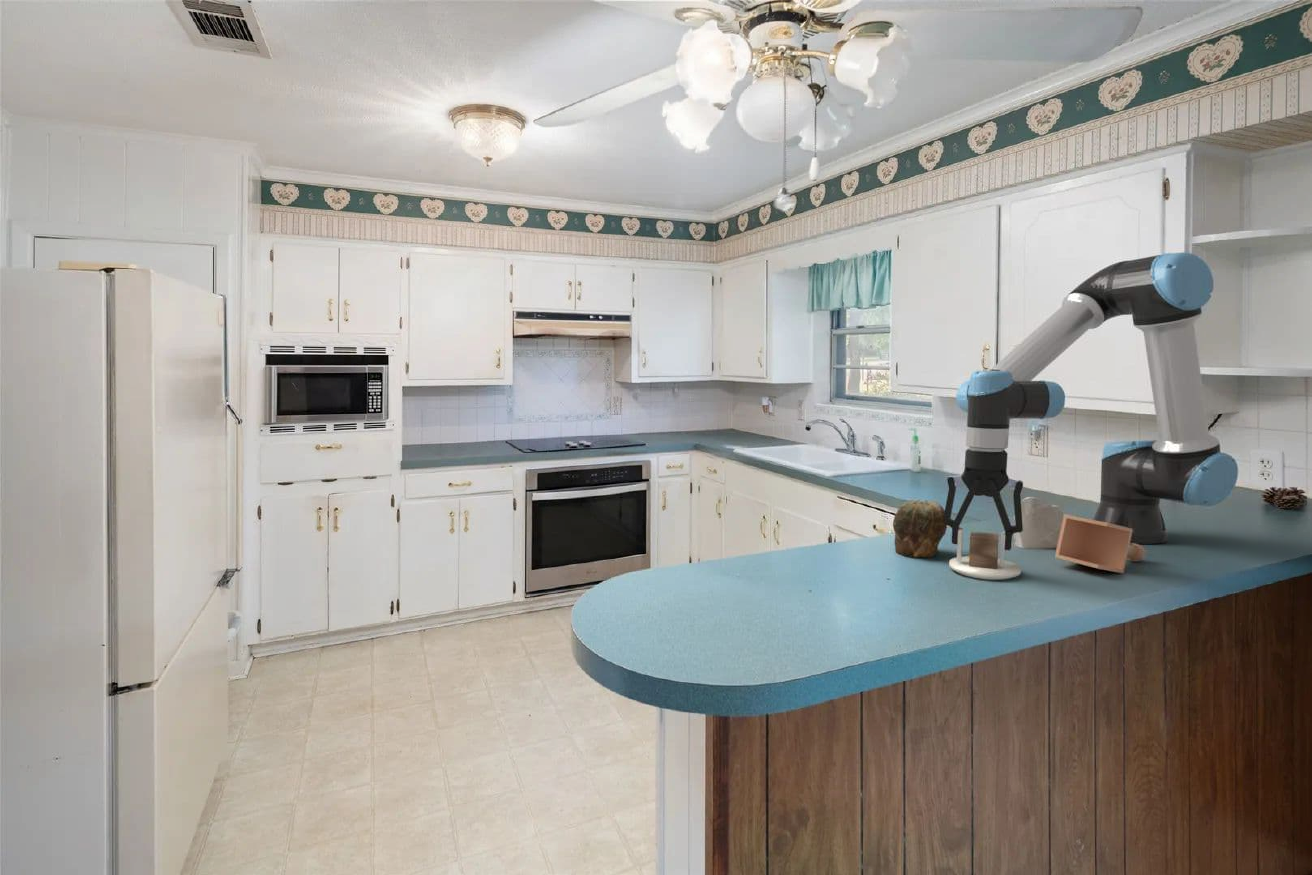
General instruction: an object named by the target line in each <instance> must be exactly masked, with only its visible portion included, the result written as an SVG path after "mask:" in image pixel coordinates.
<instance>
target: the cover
mask: <svg viewBox="0 0 1312 875" xmlns="http://www.w3.org/2000/svg"><path fill="white" fill-rule="evenodd" d="M1132 531H1133V529H1131V528H1127V527H1123V526H1119V525H1115V524H1111V523H1106V522H1101V521H1096V520H1093V519H1092V518H1091V519H1090V518H1085V517H1079V516H1074V515H1070V514H1065V513H1063V522H1062V526H1061V531H1060V536H1059V540H1058V545H1057V548H1055V549H1056V550H1055V556H1054V558H1055V559H1058V560H1059V559H1060V560H1063V561H1067V562H1072V563H1076V564H1080V565H1083V566H1086V567H1091V568H1095V569H1098V570H1104V571H1109V572H1113V573H1117V574H1118V573H1120V574H1124V572H1125V567H1126V563H1127V560H1128V561H1130V562H1136V563H1137V562H1139V561H1142V560H1144V558H1145V556H1146V550H1145V548H1144V547H1143V546H1142V545H1140V543H1130V540H1131V536H1132Z"/></svg>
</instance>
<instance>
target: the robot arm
mask: <svg viewBox="0 0 1312 875" xmlns="http://www.w3.org/2000/svg"><path fill="white" fill-rule="evenodd" d="M1214 286H1215V285H1214V277H1213V274H1212V271H1211V268H1210V267H1209V265H1208V264H1207V263H1206V261H1204V259H1203V258H1200V257H1199V256H1198V255H1197V254H1194V253H1192V252H1186V251H1185V252H1184V251H1182V252H1174V253H1171V252H1167V253H1162V254H1157V255H1152V256H1146V257H1142V258H1137V259H1136V258H1135V259H1131V260H1124V261H1123V260H1122V261H1118V262H1115V263H1112V264H1110V265H1108V266H1106V267H1104V268H1103V269H1100V270H1099V271H1097V272H1095V273H1094V274H1093V275H1091V276H1090V277H1089V278H1087V279H1085V280H1083V282H1082V283H1080V284H1079V285H1078V286H1076V287H1075V288H1074V289H1073V290H1072V291H1071V292H1069V293H1068V294H1067V295H1066V296H1065V297H1064V298H1063V299H1062V301H1061V302H1062V303H1061V307H1059V309H1057V310H1056V311H1055V312H1054V313H1053V314H1052V315H1050V316H1049V317H1048V318H1047V319H1046V320H1045V321H1044V322H1042V323H1041V325H1039V326H1038V327H1037V328H1036V329H1034V331H1033V332H1032V333H1030V334H1029V335H1027V337H1026V338H1025V339H1024V340H1022V341H1021V342H1020V343H1019V344H1018V345H1017V346H1016V347H1015V348H1013V349H1012V350H1011V351H1010V352H1009V353H1008V354H1006V356H1004V357H1003V358H1002V359H1001V360H1000V361H999V362H997V363H996V364H995V365H994V366H993V367H992V368H991V369H990V370H974V371H973V372H972V373H971V374H970V377H969V380H966V381H964V382H963V383H961V385H960V386H959V387H958V389H957V392H956V402H957V404H958V407H959V408H960V409H961V410H962V411H963V412H965V413H967V416H966V417H967V423H966V433H965V434H966V436H965V446H966V447H967V449H966V450H965V454H964V455H965V456H964V470H963V472H962V474H960V475H951V474H950V475H949V476H948V477H947V479H946V480H947V485H948V492H947V497H946V502H945V508H944V511H945V512H944V518H943V524H944V525H947V527H950V528H951V544H953V545H956V557H957V562H961V559H962V557H963V553H962V552H963V539H964V537H963V535H964V527H961V526H960V525H961V523H962V521H963V520H964V519H963V518H964V517H965V515H966V514H967V511H968V509H969V507H970V505H971V504H972V503H971V502H972V501H973V499H974V497H975V496H976V497H981V496H983V497H989V498H993V501H994V504H995V507H996V509H997V512H998V515H999V518H1000V521H1001V524H1002V526H1003V530H1004V531H1000V548H999V559H1000V561H999V567H1003V566H1004V560H1005V551H1011V549H1012V541H1013V540H1012V539H1013V536H1014V533H1018V532H1019V533H1020V532H1022V531H1023V524H1022V510H1021V501H1022V500H1021V493H1022V490H1023V488H1024V481H1022V480H1015V479H1013V478H1009V475H1008V473H1007V470H1008V469H1007V468H1008V467H1007V466H1008V454H1009V453H1008V452H1007V450H1005V449H1008V448H1009V436H1010V424H1011V422H1010V421H1011V420H1012V419H1025V420H1026V419H1033V420H1034V419H1035V420H1036V419H1039V420H1044V419H1050V418H1051V419H1052V418H1055V417H1057V416H1058V415H1059V414H1060V413H1062V411H1063V409H1064V407H1065V402H1066V394H1065V391H1064V389H1063V388H1062V386H1061V385H1060V384H1059V383H1057V382H1056V381H1055V382H1054V381H1048V380H1034V379H1035V378H1036V377H1037V376H1038V375H1040V373H1042V372H1043V371H1044V370H1045V369H1046V368H1047V367H1048V366H1049V365H1051V364H1052V363H1053V362H1054V361H1055V360H1056V359H1058V358H1059V356H1060V355H1062V354H1063V353H1064V352H1065V351H1066V350H1068V349H1069V348H1070V347H1071V346H1072V345H1073V344H1074V343H1075V342H1076V341H1077V340H1078V339H1080V338H1081V337H1082V336H1083V335H1084V334H1085V333H1086V332H1087V331H1089V330H1093V329H1097V328H1098V327H1100V326H1101V325H1103V323H1105V322H1106V321H1109V320H1110V319H1112V318H1113V319H1114V318H1115V317H1120V316H1127V315H1128V316H1129V315H1131V316H1132V322H1133V323H1132V324H1133V327H1135V328H1136V329H1139V330H1140V331H1141V332H1143V337H1144V345H1145V351H1146V357H1147V358H1146V359H1147V365H1148V371H1149V377H1150V384H1151V391H1152V399H1153V406H1154V411H1155V417H1156V424H1157V432H1158V439H1149V440H1148V439H1146V440H1126V441H1125V440H1123V441H1110V442H1107V443H1106V444H1105V445H1104V446H1103V448H1102V450H1103V451H1102V457H1101V458H1100V459H1101V460H1100V461H1101V469H1100V480H1101V481H1100V499H1099V500H1100V502H1099V505H1098V507H1097V509H1096V511H1095V513H1094V515H1093V519H1092V520H1096V521H1101V522H1106V523H1111V524H1115V525H1119V526H1123V527H1127V528H1131V529H1133V531H1132V536H1131V540H1130V543H1136V544H1139V545H1140V544H1142V545H1146V544H1147V545H1150V544H1151V545H1152V544H1162V543H1166V542H1167V541H1168V530H1167V528H1166V524H1165V521H1164V517H1163V515H1162V511H1161V508H1160V502H1161V501H1160V500H1164V501H1165V500H1166V501H1170V502H1176V503H1180V504H1186V505H1188V506H1201V507H1214V506H1216V505H1218V504H1221V503H1222V502H1223V501H1225V500H1226V499H1227V498H1228V497H1229V496H1230V494H1231V493H1232V491H1233V490H1234V488H1235V486H1236V484H1237V480H1238V477H1239V476H1238V475H1239V467H1238V463H1237V460H1236V459H1235V458H1234V457H1233V456H1232V455H1230V454H1228V453H1226V452H1222V451H1221V445H1220V440H1219V438H1218V437H1215V436H1213V435H1212V434H1210V432H1209V426H1208V425H1209V424H1208V418H1207V412H1206V403H1205V396H1204V389H1203V388H1204V386H1203V383H1202V382H1203V381H1202V375H1201V368H1200V359H1199V352H1198V351H1199V350H1198V346H1197V338H1196V331H1195V323H1196V321H1197V320H1198V319H1200V317H1201V316H1202V313H1203V312H1202V311H1203V310H1202V307H1204V306H1205V305H1206V304H1207V303H1208V302H1209V301H1210V299H1211V297H1212V294H1211V293H1213V291H1214ZM960 482H963V484H964V485H965V486H966V488H967V489H968V492H967V493H966V495H965V498H964V500H963V502H962V504H961V506H960V508H959V510H958V512H957V514H956V516H955V519H952V518H951V517H952V513H953V508H954V502H955V498H956V497H955V496H956V491H957V487H959V486H960ZM1007 485H1008V486H1009V490H1011V491H1012V492H1013V508H1014V515H1015V524H1016V525H1014V524H1013V525H1012V524H1011V521H1010V519H1009V516H1008V514H1007V509H1006V507H1005V504H1004V502H1003V499H1002V495H1001V491H1002V490H1003V489H1004V488H1005V487H1006V486H1007Z"/></svg>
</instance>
